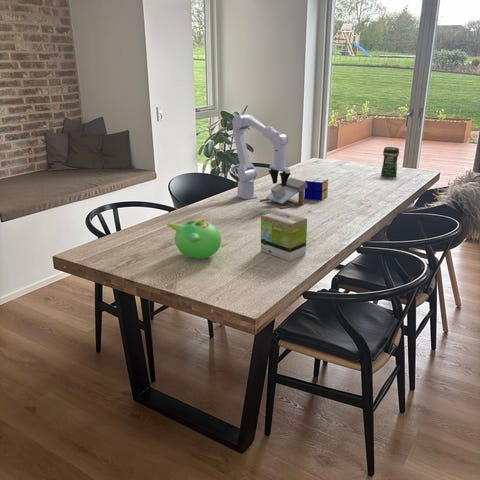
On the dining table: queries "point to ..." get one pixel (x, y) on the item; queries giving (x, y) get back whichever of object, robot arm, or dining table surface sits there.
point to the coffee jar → (390, 161)
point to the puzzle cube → (316, 189)
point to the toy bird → (196, 238)
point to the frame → (300, 202)
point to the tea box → (283, 235)
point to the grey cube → (278, 191)
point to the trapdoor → (289, 190)
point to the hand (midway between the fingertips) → (279, 184)
